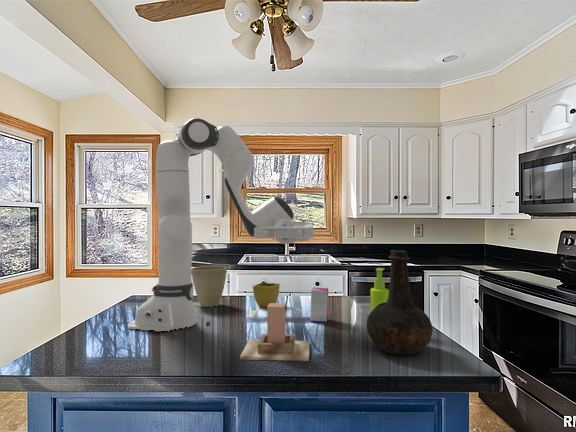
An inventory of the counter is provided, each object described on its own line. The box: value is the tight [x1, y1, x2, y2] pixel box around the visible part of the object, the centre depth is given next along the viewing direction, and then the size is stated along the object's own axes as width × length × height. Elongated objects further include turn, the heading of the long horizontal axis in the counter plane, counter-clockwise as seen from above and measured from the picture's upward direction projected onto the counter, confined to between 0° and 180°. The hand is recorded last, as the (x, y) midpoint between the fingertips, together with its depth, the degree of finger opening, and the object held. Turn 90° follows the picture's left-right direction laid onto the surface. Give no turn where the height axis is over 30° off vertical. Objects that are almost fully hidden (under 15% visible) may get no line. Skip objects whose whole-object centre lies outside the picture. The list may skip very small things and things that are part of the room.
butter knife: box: [249, 309, 259, 319], centre depth 147 cm, size 1×24×3 cm
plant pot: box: [191, 265, 228, 308], centre depth 168 cm, size 15×15×16 cm
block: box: [266, 302, 286, 343], centre depth 111 cm, size 4×4×12 cm
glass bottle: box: [366, 249, 433, 356], centre depth 112 cm, size 18×18×28 cm
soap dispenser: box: [369, 267, 389, 313], centre depth 133 cm, size 6×7×20 cm
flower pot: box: [252, 282, 280, 308], centre depth 167 cm, size 9×9×9 cm
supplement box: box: [309, 286, 329, 324], centre depth 143 cm, size 6×6×12 cm
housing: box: [239, 333, 311, 362], centre depth 111 cm, size 18×14×3 cm
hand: (282, 233), depth 129 cm, fingers open, 8 cm apart
